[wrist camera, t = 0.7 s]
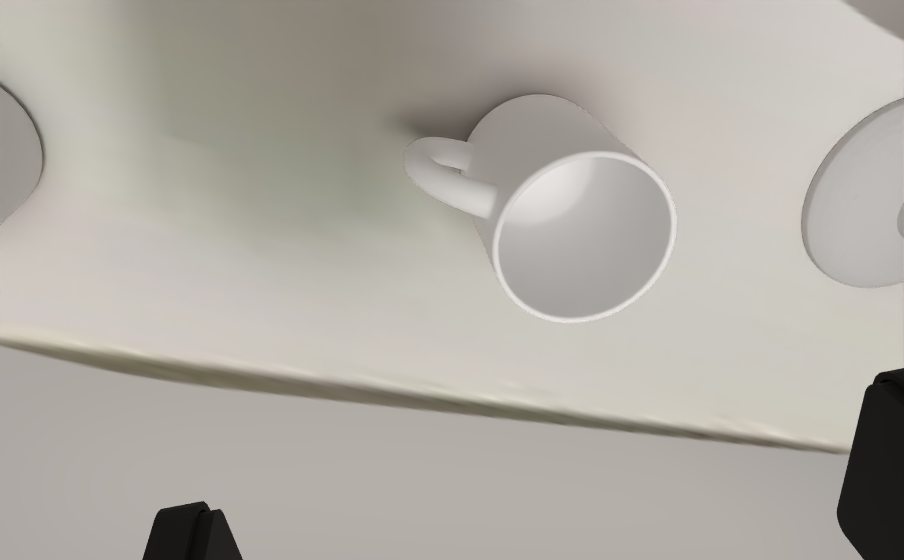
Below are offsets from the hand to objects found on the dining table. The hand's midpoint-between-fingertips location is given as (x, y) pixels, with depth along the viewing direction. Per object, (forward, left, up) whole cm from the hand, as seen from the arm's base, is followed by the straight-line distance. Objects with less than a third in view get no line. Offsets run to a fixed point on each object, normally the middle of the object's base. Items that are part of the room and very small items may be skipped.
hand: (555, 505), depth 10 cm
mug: (+4, +6, -29) cm, 30 cm away
